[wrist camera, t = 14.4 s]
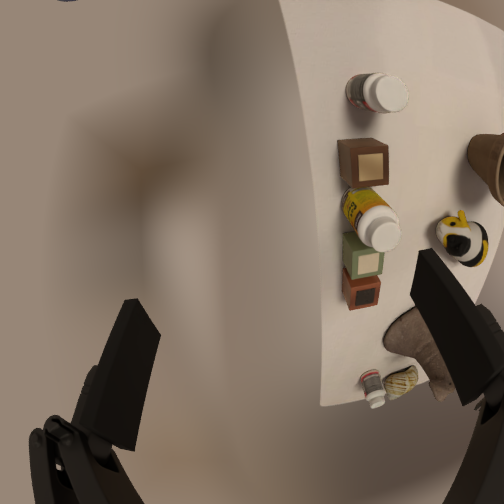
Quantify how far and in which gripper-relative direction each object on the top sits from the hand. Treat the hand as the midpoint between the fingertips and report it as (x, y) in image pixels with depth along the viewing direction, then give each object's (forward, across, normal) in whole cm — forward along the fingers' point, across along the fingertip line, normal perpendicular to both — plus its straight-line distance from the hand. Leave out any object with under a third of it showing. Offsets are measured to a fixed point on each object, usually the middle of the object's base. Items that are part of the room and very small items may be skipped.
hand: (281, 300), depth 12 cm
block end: (+25, +12, -23) cm, 36 cm away
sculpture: (+25, +28, -42) cm, 57 cm away
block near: (+26, +12, -2) cm, 28 cm away
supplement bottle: (+26, +12, -9) cm, 30 cm away
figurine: (+25, +32, -17) cm, 44 cm away
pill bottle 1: (+26, +14, +7) cm, 30 cm away
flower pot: (+26, +36, -2) cm, 45 cm away
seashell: (+25, +29, -64) cm, 75 cm away
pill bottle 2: (+25, +19, -59) cm, 67 cm away
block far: (+25, +12, -16) cm, 32 cm away
